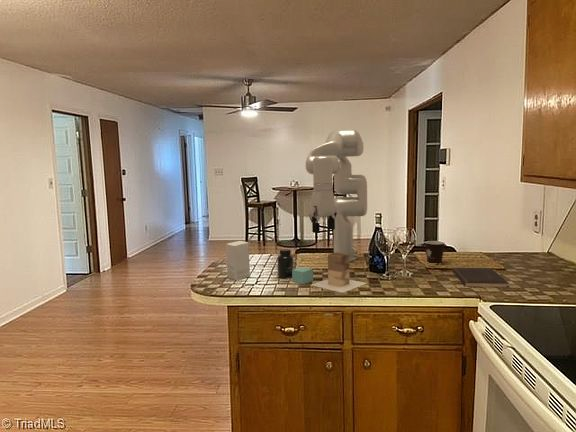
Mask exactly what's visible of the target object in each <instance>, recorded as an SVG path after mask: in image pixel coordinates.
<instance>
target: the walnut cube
mask: <svg viewBox="0 0 576 432" xmlns="http://www.w3.org/2000/svg"><path fill="white" fill-rule="evenodd" d="M348 269H349V270H350V262H349V254H345V253H339V252H336V253H334V252H333V253H330V254H327V271H328V270H332V271H337V272H342V271H345V270H348Z"/></svg>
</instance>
